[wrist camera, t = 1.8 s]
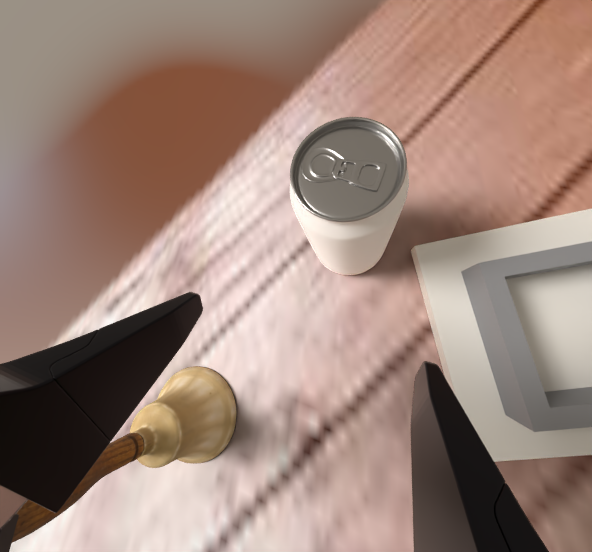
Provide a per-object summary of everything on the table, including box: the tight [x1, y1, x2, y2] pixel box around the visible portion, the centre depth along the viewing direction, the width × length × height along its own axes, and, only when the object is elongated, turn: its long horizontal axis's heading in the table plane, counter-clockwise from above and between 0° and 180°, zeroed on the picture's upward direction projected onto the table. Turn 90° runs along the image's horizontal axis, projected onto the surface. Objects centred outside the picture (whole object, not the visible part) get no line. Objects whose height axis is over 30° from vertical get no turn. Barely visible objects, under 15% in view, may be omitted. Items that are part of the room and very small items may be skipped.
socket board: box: [411, 209, 592, 462], centre depth 18 cm, size 16×16×4 cm
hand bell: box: [12, 366, 236, 542], centre depth 17 cm, size 8×8×16 cm
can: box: [290, 117, 409, 275], centre depth 18 cm, size 6×6×12 cm
